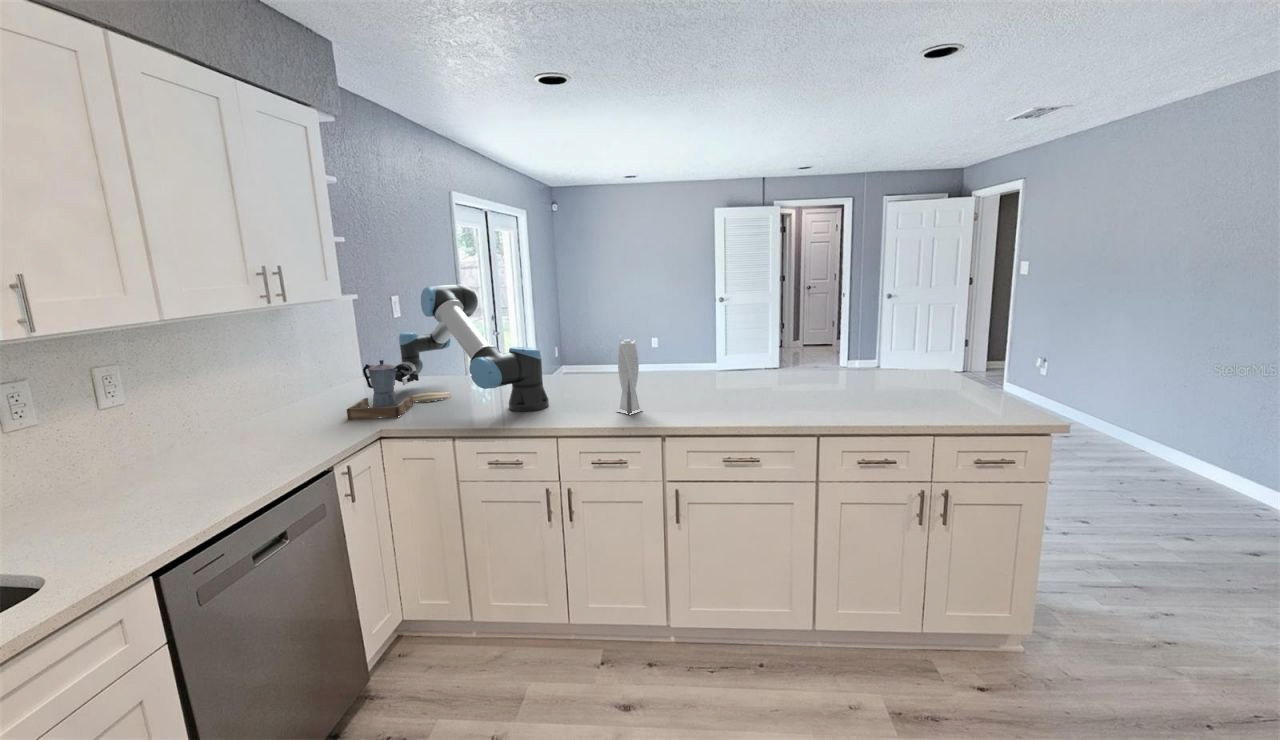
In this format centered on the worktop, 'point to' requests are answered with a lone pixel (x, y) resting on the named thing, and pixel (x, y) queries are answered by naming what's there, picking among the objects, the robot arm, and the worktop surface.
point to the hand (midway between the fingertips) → (385, 382)
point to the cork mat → (431, 396)
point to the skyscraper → (628, 375)
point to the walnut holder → (377, 409)
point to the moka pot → (382, 384)
